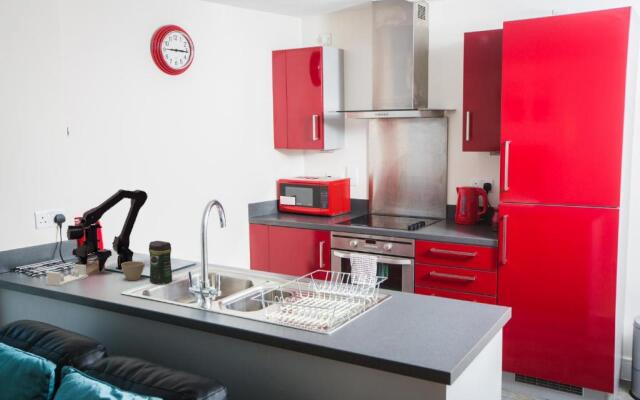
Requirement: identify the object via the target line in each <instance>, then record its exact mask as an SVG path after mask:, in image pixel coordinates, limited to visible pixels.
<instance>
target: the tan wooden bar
mask: <svg viewBox="0 0 640 400" xmlns="http://www.w3.org/2000/svg"><path fill="white" fill-rule="evenodd" d="M105 270H106V265H104V267H103V269H102V271H101V272H105ZM101 272H100V271H99V261H98V260H96V261H93V262H90V263H87V264H86V274H87V275H88V277H90V276H91V275H94V274H98V273H101Z"/></svg>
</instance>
